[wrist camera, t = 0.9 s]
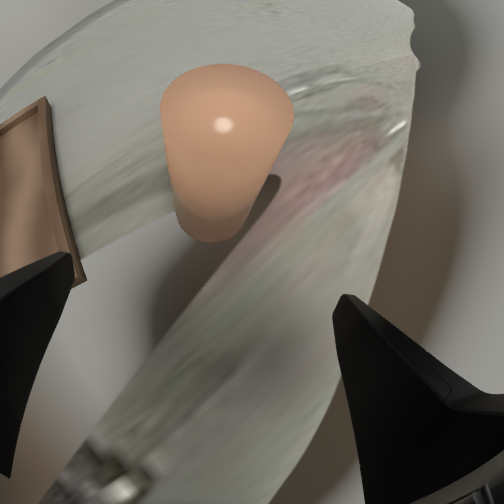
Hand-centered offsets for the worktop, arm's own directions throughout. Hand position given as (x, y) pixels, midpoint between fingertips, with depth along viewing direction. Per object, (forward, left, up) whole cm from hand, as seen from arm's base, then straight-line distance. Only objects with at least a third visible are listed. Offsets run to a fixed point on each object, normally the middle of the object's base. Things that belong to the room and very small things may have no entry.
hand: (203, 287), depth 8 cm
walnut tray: (-16, +17, -13) cm, 26 cm away
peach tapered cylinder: (+4, +7, -13) cm, 15 cm away
